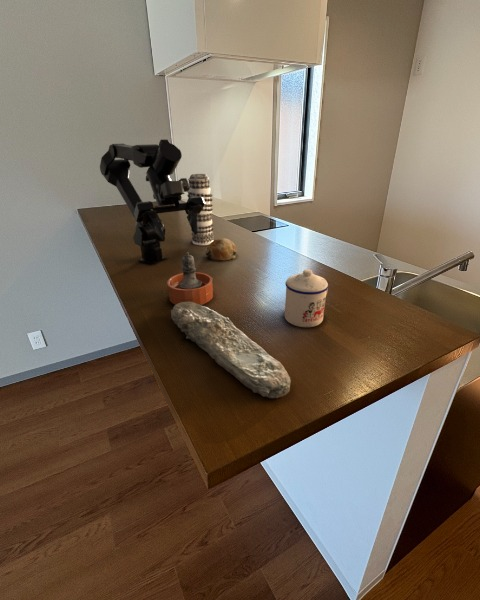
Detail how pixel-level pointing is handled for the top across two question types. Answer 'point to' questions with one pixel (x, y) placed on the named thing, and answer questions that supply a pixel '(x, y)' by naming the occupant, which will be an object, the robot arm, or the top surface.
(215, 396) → the top surface
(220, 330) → the elongated rock
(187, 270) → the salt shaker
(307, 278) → the teacup with lid
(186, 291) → the bowl
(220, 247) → the bread roll
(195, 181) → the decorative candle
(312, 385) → the top surface
